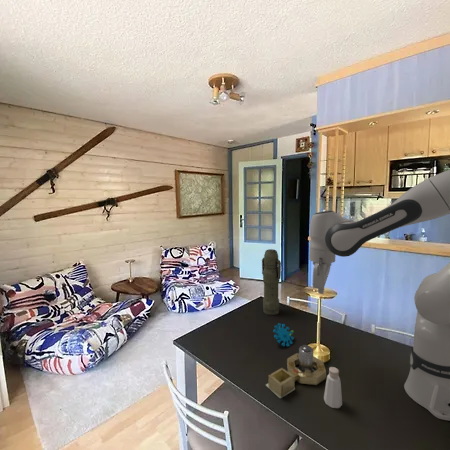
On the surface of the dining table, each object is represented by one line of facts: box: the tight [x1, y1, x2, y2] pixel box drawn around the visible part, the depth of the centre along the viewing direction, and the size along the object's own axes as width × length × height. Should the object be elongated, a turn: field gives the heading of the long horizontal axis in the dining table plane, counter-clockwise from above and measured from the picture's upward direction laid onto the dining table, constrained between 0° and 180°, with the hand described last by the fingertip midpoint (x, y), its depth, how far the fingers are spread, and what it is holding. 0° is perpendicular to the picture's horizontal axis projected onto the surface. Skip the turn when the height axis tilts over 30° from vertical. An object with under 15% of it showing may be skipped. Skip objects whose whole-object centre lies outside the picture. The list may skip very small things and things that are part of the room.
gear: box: [272, 322, 295, 347], centre depth 114 cm, size 11×6×10 cm
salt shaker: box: [323, 366, 343, 409], centre depth 80 cm, size 5×5×11 cm
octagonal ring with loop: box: [267, 352, 327, 398], centre depth 91 cm, size 23×13×4 cm, turn 125°
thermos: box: [261, 248, 282, 316], centre depth 141 cm, size 9×12×35 cm
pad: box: [265, 381, 296, 399], centre depth 87 cm, size 7×7×1 cm
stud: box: [296, 344, 315, 373], centre depth 93 cm, size 7×7×10 cm
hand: (321, 292), depth 94 cm, fingers closed
